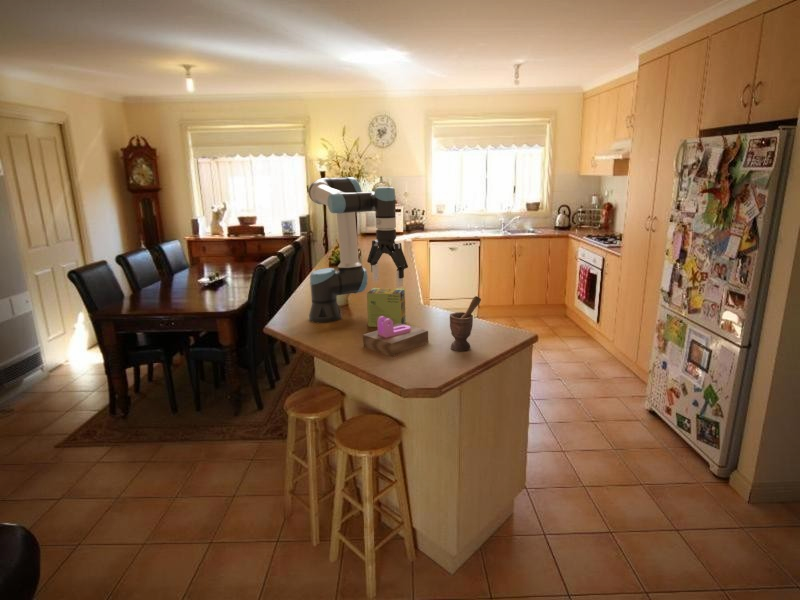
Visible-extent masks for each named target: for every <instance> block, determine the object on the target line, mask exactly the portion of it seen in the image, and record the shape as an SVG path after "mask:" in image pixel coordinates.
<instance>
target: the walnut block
mask: <svg viewBox="0 0 800 600" xmlns="http://www.w3.org/2000/svg"><path fill="white" fill-rule="evenodd" d="M401 325H407V326H410V329H411V331H410V332H407V333H403V334H399V335H395V336H391V337H387V338H385V337H383V336H381V335H378V329H377V330H374V331H370V332H367V333H364V334H362V340H363V341H362V342H363V348H365V349H368V350H371V351H374V352H376V353H377V352H378V353H381V354H384V355H385V356H389V357H395V356H398V355H400V354H403V353H405V352H408V351H410V350H413V349H416V348H418V347H421V346H424V345H427V344H428V343H429V330H428V329H423V328H419V327H416V326H412V325H408V324H405V323H404V324H401V323H398V324H395V325H393V327H396V326H401ZM423 344H424V345H423Z"/></svg>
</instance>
